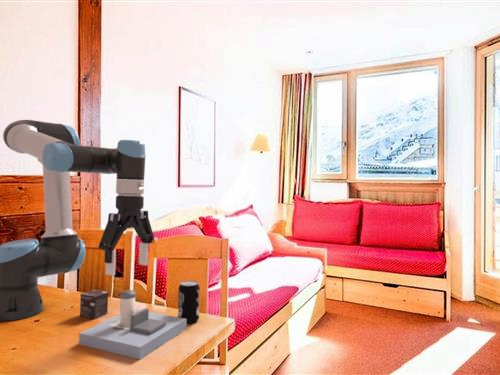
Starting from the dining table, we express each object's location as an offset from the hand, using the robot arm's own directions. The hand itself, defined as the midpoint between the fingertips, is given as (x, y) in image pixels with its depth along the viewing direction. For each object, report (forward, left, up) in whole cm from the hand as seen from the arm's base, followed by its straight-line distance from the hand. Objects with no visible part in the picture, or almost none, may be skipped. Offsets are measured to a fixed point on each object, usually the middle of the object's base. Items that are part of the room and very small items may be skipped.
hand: (127, 269), depth 104 cm
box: (-20, +7, -19) cm, 28 cm away
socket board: (+3, 0, -18) cm, 19 cm away
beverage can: (+10, +16, -19) cm, 27 cm away
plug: (0, 0, -18) cm, 18 cm away
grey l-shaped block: (+8, 0, -15) cm, 17 cm away
